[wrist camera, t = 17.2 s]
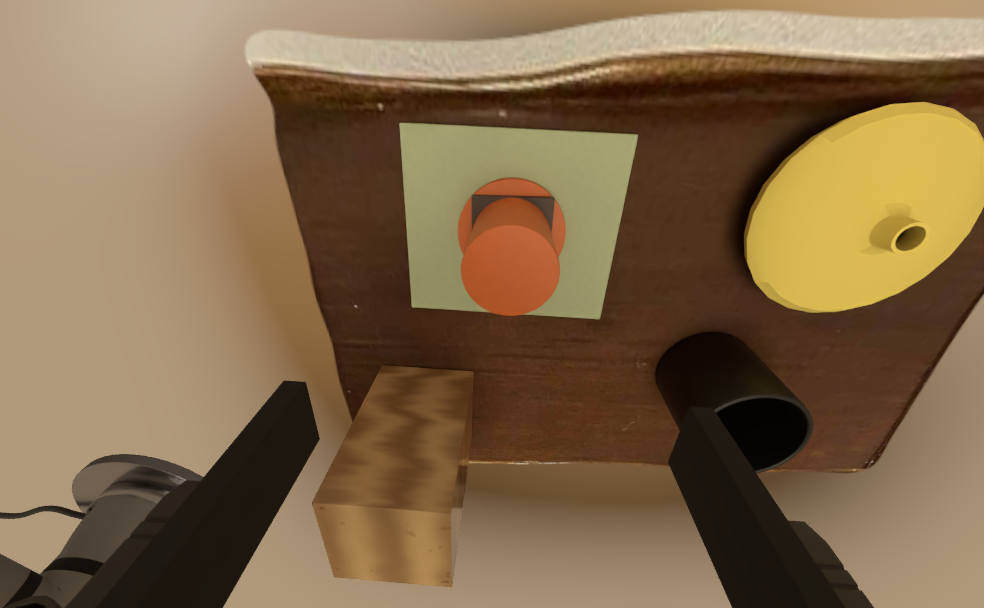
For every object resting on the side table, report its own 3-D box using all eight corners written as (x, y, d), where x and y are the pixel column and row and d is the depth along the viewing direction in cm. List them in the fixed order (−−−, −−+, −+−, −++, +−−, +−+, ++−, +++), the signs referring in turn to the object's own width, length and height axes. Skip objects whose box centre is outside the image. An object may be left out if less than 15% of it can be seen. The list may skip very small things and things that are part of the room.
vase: (874, 303, 34) (954, 348, 28) (701, 289, 34) (742, 330, 28) (996, 110, 27) (1142, 112, 20) (774, 94, 27) (851, 91, 21)
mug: (742, 416, 41) (796, 491, 33) (639, 393, 41) (670, 464, 33) (794, 349, 37) (871, 416, 29) (680, 321, 36) (727, 383, 28)
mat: (414, 302, 37) (411, 307, 36) (402, 122, 29) (399, 122, 28) (597, 314, 36) (599, 319, 35) (634, 133, 29) (638, 134, 28)
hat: (459, 278, 34) (443, 329, 26) (457, 175, 30) (437, 200, 22) (558, 282, 34) (571, 335, 26) (570, 178, 30) (590, 205, 22)
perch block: (389, 430, 45) (333, 577, 31) (381, 364, 41) (311, 502, 27) (471, 436, 45) (452, 587, 31) (473, 371, 40) (450, 514, 26)
